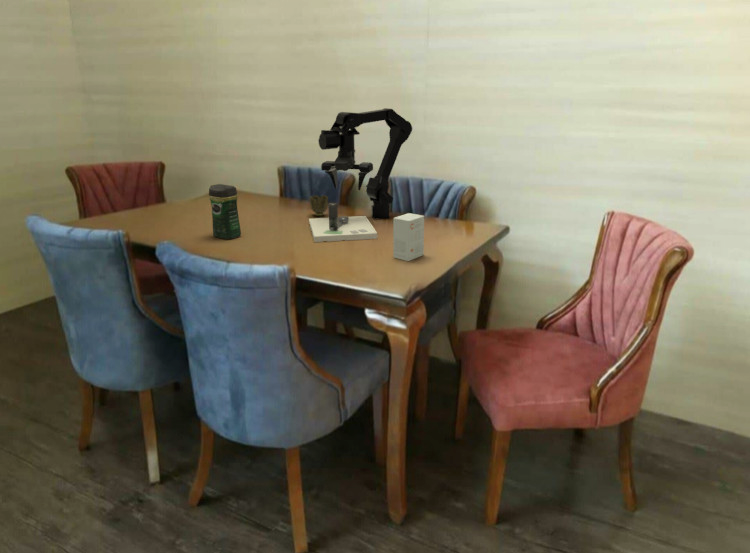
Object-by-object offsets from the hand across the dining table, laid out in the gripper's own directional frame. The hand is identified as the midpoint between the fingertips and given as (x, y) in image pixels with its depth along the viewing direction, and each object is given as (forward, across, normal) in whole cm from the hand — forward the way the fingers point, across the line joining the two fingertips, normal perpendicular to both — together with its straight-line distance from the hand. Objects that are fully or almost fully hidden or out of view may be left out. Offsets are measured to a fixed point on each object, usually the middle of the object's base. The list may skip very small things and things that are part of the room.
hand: (347, 189), depth 217 cm
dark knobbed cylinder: (+10, +1, -13) cm, 17 cm away
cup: (+13, -14, +8) cm, 21 cm away
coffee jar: (+13, -36, -28) cm, 48 cm away
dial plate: (+13, +1, -12) cm, 17 cm away
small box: (+13, +31, -35) cm, 49 cm away
